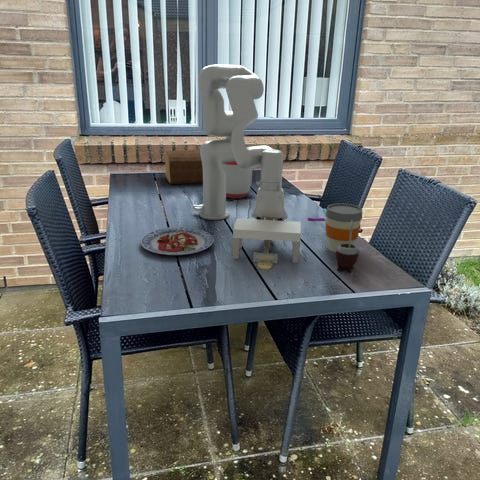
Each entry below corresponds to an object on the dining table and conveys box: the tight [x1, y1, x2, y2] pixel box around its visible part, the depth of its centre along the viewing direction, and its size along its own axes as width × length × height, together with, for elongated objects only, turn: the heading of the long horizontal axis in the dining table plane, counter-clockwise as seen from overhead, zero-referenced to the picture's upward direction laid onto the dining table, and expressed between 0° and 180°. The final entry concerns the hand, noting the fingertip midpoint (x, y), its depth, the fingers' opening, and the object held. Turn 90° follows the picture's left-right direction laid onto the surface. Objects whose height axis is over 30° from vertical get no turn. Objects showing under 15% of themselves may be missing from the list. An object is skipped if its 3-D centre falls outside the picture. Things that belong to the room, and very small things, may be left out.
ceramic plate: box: [140, 226, 214, 256], centre depth 167 cm, size 26×26×3 cm
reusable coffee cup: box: [325, 202, 363, 253], centre depth 165 cm, size 13×13×15 cm
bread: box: [164, 148, 203, 185], centre depth 251 cm, size 18×30×16 cm, turn 106°
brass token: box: [256, 261, 274, 271], centre depth 152 cm, size 5×5×1 cm
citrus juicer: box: [221, 161, 255, 199], centre depth 224 cm, size 16×17×20 cm
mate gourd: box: [335, 220, 359, 274], centre depth 149 cm, size 8×8×15 cm
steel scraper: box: [252, 218, 279, 264], centre depth 162 cm, size 8×21×12 cm, turn 174°
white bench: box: [232, 217, 302, 264], centre depth 160 cm, size 22×11×10 cm, turn 84°
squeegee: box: [307, 208, 327, 222], centre depth 195 cm, size 29×2×10 cm
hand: (268, 233), depth 171 cm, fingers closed on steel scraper, 3 cm apart
